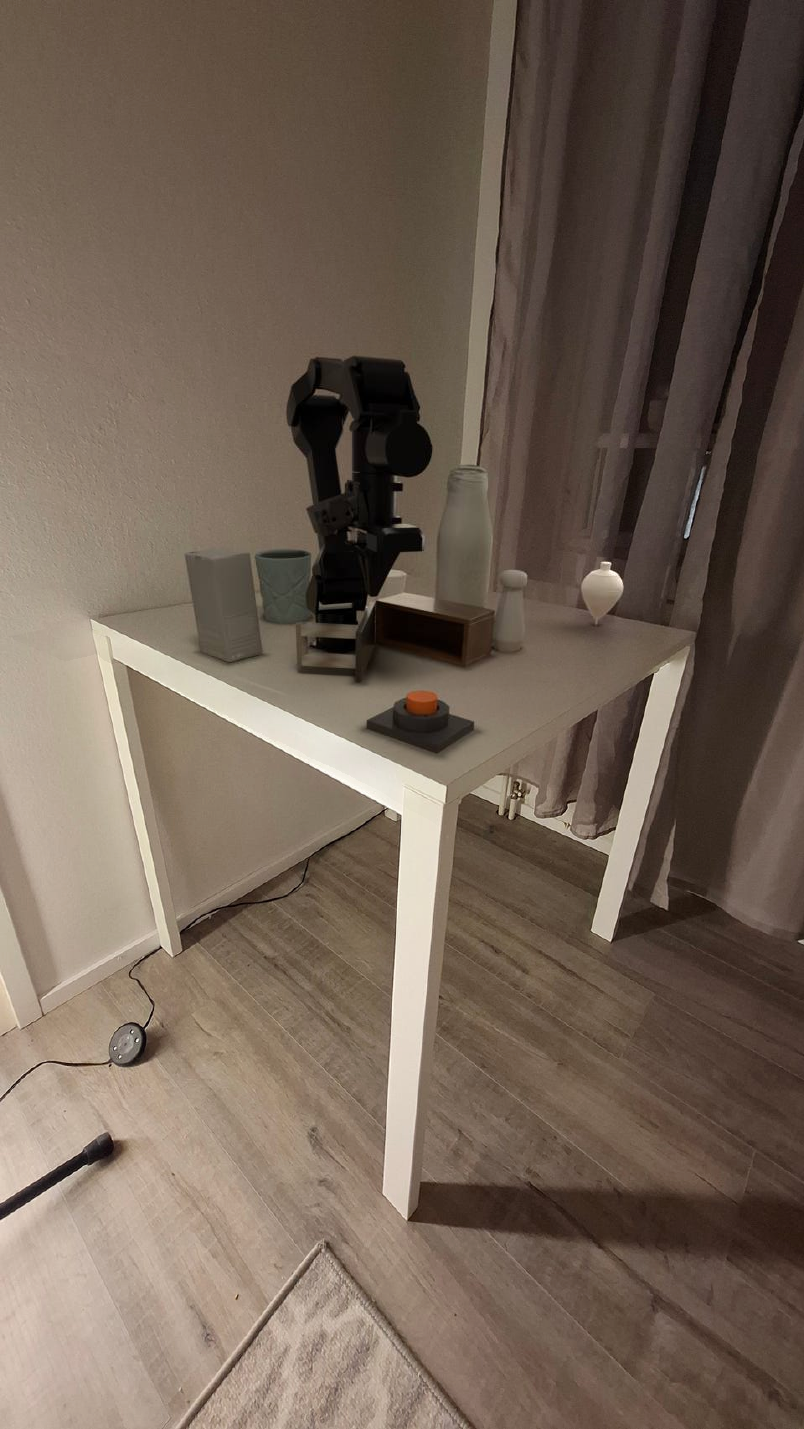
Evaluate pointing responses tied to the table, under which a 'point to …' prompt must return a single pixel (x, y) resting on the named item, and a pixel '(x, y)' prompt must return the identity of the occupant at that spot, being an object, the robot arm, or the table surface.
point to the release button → (421, 702)
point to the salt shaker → (510, 613)
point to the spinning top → (601, 590)
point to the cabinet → (434, 628)
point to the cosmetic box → (224, 603)
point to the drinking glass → (284, 584)
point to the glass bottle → (465, 539)
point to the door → (359, 632)
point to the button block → (421, 726)
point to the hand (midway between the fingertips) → (372, 596)
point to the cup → (392, 585)
